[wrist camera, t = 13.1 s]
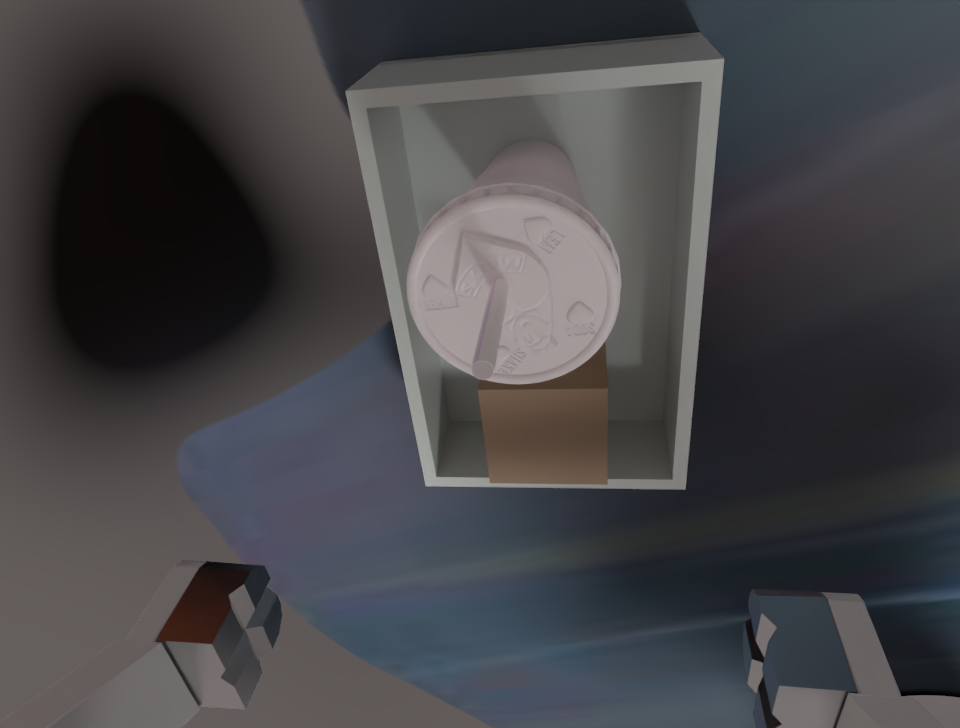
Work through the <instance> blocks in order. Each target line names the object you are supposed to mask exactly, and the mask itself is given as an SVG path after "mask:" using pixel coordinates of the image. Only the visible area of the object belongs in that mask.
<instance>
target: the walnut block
mask: <svg viewBox="0 0 960 728" xmlns="http://www.w3.org/2000/svg"><path fill="white" fill-rule="evenodd" d="M478 396H479V403H480V411H481V418H482V426H483V434H484V441H485V449H486V457H487V464H488V472H489V479H490V483H514V484H597V485H608V382H607V363H606V344H605V342H604V344H603V345H602V346H601V347H600V349H599V350H598V351H597V352H596V353H595V354H594V355H593V356H592V357H591V358H590V359H589V360H587V361H586V362H585V363H583V364H582V365H581V366H579V367H577V368H576V369H574V370H572V371H571V372H569V373H567V374H565V375H562V376H560V377H557V378H554V379H551V380H548V381H543V382H539V383H531V384H504V383H497V382H492V381H488V380H481V379H480V382H479V387H478Z"/></svg>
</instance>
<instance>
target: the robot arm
mask: <svg viewBox="0 0 960 728" xmlns="http://www.w3.org/2000/svg"><path fill="white" fill-rule="evenodd" d="M269 580H270V576H269V574H268V572H267V570H266V568H265V566H261V565H249V564H236V563H222V562H210V561H195V560H194V561H193V560H181V561H180V562H178V563H177V564H176V565H174V566H173V567H172V569H171V570H170V572H169V573H168V575H167V577H166V578H165V580H164V581H163V583H162V584H161V586H160V587H159V589H158V590H157V592H156V593H155V595H154V596H153V598H152V599H151V601H150V602H149V604H148V605H147V607H146V609H145V610H144V612H143V613H142V615H141V616H140V618H139V619H138V621H137V622H136V624H135V625H134V627H133V628H132V630H131V631H130V633H129V635H128V636H127V637H126V639H117V640H116V641H114V642H113V643H111V644H110V645H108V646H107V647H106V648H104V649H103V650H101V651H100V652H99V653H97V654H96V655H94V656H93V657H91V658H90V659H89V660H87V661H86V662H84V663H83V664H81V665H80V666H78V667H77V668H76V669H74V670H73V671H71V672H70V673H68V674H67V675H66V676H64V677H63V678H61V679H60V680H59V681H57V682H56V683H54V684H53V685H51V686H50V687H48V688H47V689H46V690H44V691H43V692H41V693H40V694H38V695H37V696H36V697H34V698H33V699H31V700H30V701H28V702H27V703H26V704H24V705H23V706H21V707H20V708H18V709H17V710H15V711H14V712H13V713H11V714H10V715H8V716H7V717H6V718H4V719H3V720H1V721H0V728H182V727H183V726H184V725H185V724H186V723H187V722H188V721H189V720H190V719H191V718H192V717H193V716H194V715H195V714H196V713H197V712H198V711H199V710H200V708H199V707H215V708H232V709H246V708H247V705H248V703H249V701H250V699H251V696H252V694H253V692H254V690H255V687H256V685H257V683H258V681H259V678H260V676H261V674H262V671H261V666H260V662H259V660H260V659H261V658H262V657H263V656H265V655H266V654H267V653H268V652H269V651H271V650H272V649H273V647H274V644H275V642H276V639H277V637H278V634H279V630H280V624H281V618H282V612H281V604H280V601H279V598H278V596H277V594H275V593H274V592H273V591H272V590H270V589H269V588H268V587H266V586H267V584H268V582H269ZM748 607H749V612H750V616H751V618H750V619H748V620H747V621H745V622H744V630H743V660H744V668H745V674H746V679H747V684H748V685H749V686H750V687H751V688H752V689H753V691H754V692H755V693H756V699H755V704H754V709H753V715H754V720H755V725H756V728H960V698H959V697H950V696H936V695H914V696H901V694H900V691H899V689H898V686H897V684H896V681H895V679H894V676H893V674H892V671H891V668H890V666H889V663H888V661H887V658H886V656H885V653H884V651H883V648H882V646H881V643H880V641H879V638H878V636H877V633H876V631H875V628H874V626H873V623H872V621H871V618H870V616H869V613H868V611H867V608H866V606H865V603H864V601H863V599H862V598H861V597H860V596H859V595H858V594H850V593H827V592H821V593H820V592H819V591H798V590H770V589H752V591H751V592H750V596H749V601H748Z"/></svg>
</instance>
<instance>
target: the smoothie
mask: <svg viewBox="0 0 960 728" xmlns="http://www.w3.org/2000/svg"><path fill="white" fill-rule="evenodd" d="M406 284H407V298H408V304H409V308H410V312H411V314H412V317H413V320H414V322H415V324H416V326H417V328H418V330H419V331H420V333H421V335H422V336H423V337H424V339H425V340H426V342H427V343H428V344H429V345H430V346H431V347H432V349H433V350H434V351H435V352H437V353H438V354H439V355H440V356H441V357H442V358H443V359H445V360H446V361H447V362H449V363H450V364H452V365H453V366H455V367H456V368H458V369H460V370H462V371H463V372H466V373H468V374H470V375H472V376H475V377H476V378H478V379H481V380H488V381H492V382H497V383H504V384H531V383H539V382H543V381H548V380H551V379H554V378H557V377H560V376H562V375H565V374H567V373H569V372H571V371H572V370H574V369H576V368H577V367H579V366H581V365H582V364H583V363H585V362H586V361H587V360H589V359H590V358H591V357H592V356H593V355H594V354H595V353H596V352H597V351H598V350H599V349H600V347H601V346H602V345H603V344H604V342H605V341H606V339H607V338H608V336H609V334H610V332H611V331H612V328H613V326H614V324H615V321H616V318H617V314H618V310H619V304H620V290H621V285H622V283H621V273H620V264H619V257H618V255H617V253H616V250H615V248H614V246H613V243H612V241H611V239H610V236H609V234H608V233H607V231H606V230H605V229H604V228H603V226H602V225H601V224H600V223H599V222H598V220H597V219H596V218H595V217H594V215H593V214H592V213H591V212H590V210H589V207H588V204H587V202H586V199H585V196H584V194H583V191H582V188H581V185H580V183H579V180H578V177H577V175H576V172H575V169H574V167H573V165H572V163H571V161H570V159H569V158H568V157H567V156H566V154H565V153H564V152H563V151H562V150H560V149H559V148H558V147H556V146H554V145H552V144H550V143H548V142H545V141H541V140H523V141H519V142H516V143H513V144H511V145H509V146H508V147H506V148H505V149H503V150H502V151H501V152H500V153H499V154H498V155H497V156H496V157H495V159H494V160H493V161H492V162H491V163H490V165H489V166H488V167H487V168H486V169H485V170H484V172H483V173H482V174H481V175H480V176H479V178H478V179H477V180H476V181H475V182H474V183H473V185H472V186H471V187H470V188H469V189H468V191H467V192H466V193H464V194H462V195H459V196H457V197H455V198H453V199H452V200H451V201H449V202H448V203H447V204H446V205H445V206H443V207H442V208H441V209H440V210H439V211H438V212H436V213H435V214H434V215H433V216H432V217H431V218H430V220H429V222H428V223H427V225H426V226H425V228H424V229H423V231H422V232H421V234H420V235H419V237H418V239H417V242H416V246H415V249H414V252H413V255H412V257H411V260H410V264H409V268H408V273H407V283H406Z"/></svg>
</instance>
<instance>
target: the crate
mask: <svg viewBox="0 0 960 728" xmlns="http://www.w3.org/2000/svg"><path fill="white" fill-rule="evenodd" d="M723 67H724V58H723V57H722V56H721V54H720V53H719V52H718V51H717V50H716V49H715V48H714V47H713V46H712V44H711V43H710V42H709V41H708V40H707V39H706V38H705V37H704V36H703V35H702V33H701V32H698V33H687V34H676V35H665V36H654V37H643V38H633V39H622V40H611V41H600V42H589V43H578V44H567V45H557V46H546V47H535V48H524V49H513V50H502V51H491V52H480V53H470V54H459V55H448V56H437V57H426V58H415V59H404V60H394V61H383V62H381V63H379V64H378V65H377V66H376V67H374V68H373V69H372V70H371V71H370V72H368V73H367V74H366V75H365V76H363V77H362V78H361V79H360V80H358V81H357V82H356V83H355V84H353V85H352V86H351V87H350V88H348V89H347V90H346V91H345V93H346V98H347V102H348V107H349V112H350V117H351V122H352V127H353V132H354V137H355V142H356V147H357V151H358V156H359V161H360V166H361V171H362V176H363V181H364V186H365V191H366V195H367V200H368V205H369V210H370V215H371V220H372V225H373V230H374V235H375V239H376V244H377V249H378V254H379V259H380V264H381V269H382V274H383V278H384V283H385V289H386V293H387V298H388V303H389V308H390V313H391V318H392V323H393V328H394V333H395V338H396V342H397V347H398V352H399V357H400V362H401V367H402V372H403V377H404V382H405V386H406V391H407V396H408V401H409V406H410V411H411V416H412V421H413V426H414V431H415V435H416V440H417V445H418V450H419V455H420V460H421V465H422V470H423V475H424V480H425V484H426V486H450V487H527V488H604V489H680V490H686V479H687V467H688V456H689V445H690V434H691V423H692V412H693V401H694V390H695V379H696V367H697V356H698V345H699V334H700V323H701V312H702V301H703V290H704V278H705V267H706V256H707V245H708V234H709V223H710V212H711V201H712V190H713V178H714V167H715V156H716V145H717V134H718V123H719V112H720V101H721V89H722V78H723ZM523 140H541V141H545V142H548V143H550V144H552V145H554V146H556V147H558V148H559V149H560V150H562V151H563V152H564V153H565V154H566V156H567V157H568V158H569V159H570V161H571V163H572V165H573V167H574V169H575V172H576V175H577V177H578V180H579V183H580V185H581V188H582V191H583V194H584V196H585V199H586V202H587V204H588V207H589V210H590V212H591V213H592V214H593V215H594V217H595V218H596V219H597V220H598V222H599V223H600V224H601V225H602V226H603V228H604V229H605V230H606V231H607V233H608V234H609V236H610V239H611V241H612V243H613V246H614V248H615V250H616V253H617V255H618V257H619V264H620V273H621V283H622V285H621V290H620V304H619V310H618V314H617V318H616V321H615V324H614V326H613V328H612V331H611V332H610V334H609V336H608V338H607V339H606V341H605V344H606V363H607V382H608V485H597V484H514V483H490V479H489V472H488V464H487V457H486V449H485V441H484V434H483V426H482V418H481V411H480V403H479V396H478V387H479V382H480V379H478V378H476V377H475V376H472V375H470V374H468V373H466V372H463V371H462V370H460V369H458V368H456V367H455V366H453V365H452V364H450V363H449V362H447V361H446V360H445V359H443V358H442V357H441V356H440V355H439V354H438V353H437V352H435V351H434V350H433V349H432V347H431V346H430V345H429V344H428V343H427V342H426V340H425V339H424V337H423V336H422V335H421V333H420V331H419V330H418V328H417V326H416V324H415V322H414V320H413V317H412V314H411V312H410V308H409V304H408V298H407V284H406V283H407V273H408V268H409V264H410V260H411V257H412V255H413V252H414V249H415V246H416V242H417V239H418V237H419V235H420V234H421V232H422V231H423V229H424V228H425V226H426V225H427V223H428V222H429V220H430V218H431V217H432V216H433V215H434V214H435V213H436V212H438V211H439V210H440V209H441V208H442V207H443V206H445V205H446V204H447V203H448V202H449V201H451V200H452V199H453V198H455V197H457V196H459V195H462V194H464V193H466V192H467V191H468V189H469V188H470V187H471V186H472V185H473V183H474V182H475V181H476V180H477V179H478V178H479V176H480V175H481V174H482V173H483V172H484V170H485V169H486V168H487V167H488V166H489V165H490V163H491V162H492V161H493V160H494V159H495V157H496V156H497V155H498V154H499V153H500V152H501V151H502V150H503V149H505V148H506V147H508V146H509V145H511V144H513V143H516V142H519V141H523Z"/></svg>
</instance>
